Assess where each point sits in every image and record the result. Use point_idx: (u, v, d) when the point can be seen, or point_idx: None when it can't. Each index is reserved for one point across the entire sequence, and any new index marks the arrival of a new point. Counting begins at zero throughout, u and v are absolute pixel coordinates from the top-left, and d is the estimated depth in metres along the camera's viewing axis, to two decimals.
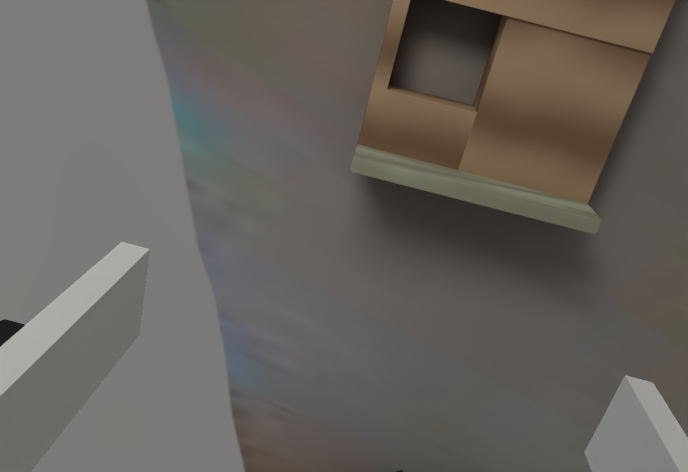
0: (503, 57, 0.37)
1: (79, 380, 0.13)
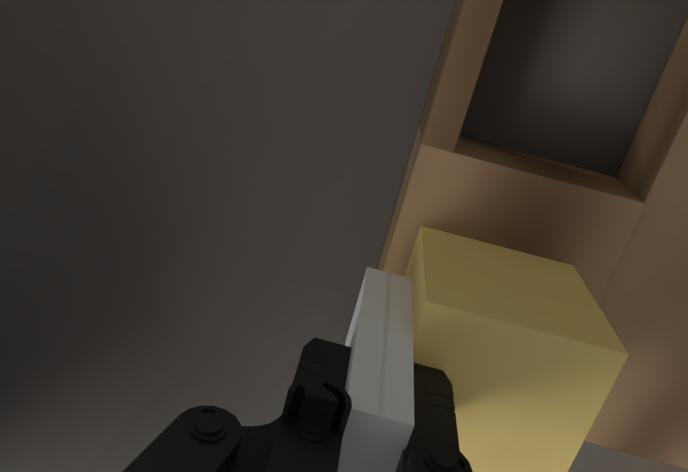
0: None
1: None
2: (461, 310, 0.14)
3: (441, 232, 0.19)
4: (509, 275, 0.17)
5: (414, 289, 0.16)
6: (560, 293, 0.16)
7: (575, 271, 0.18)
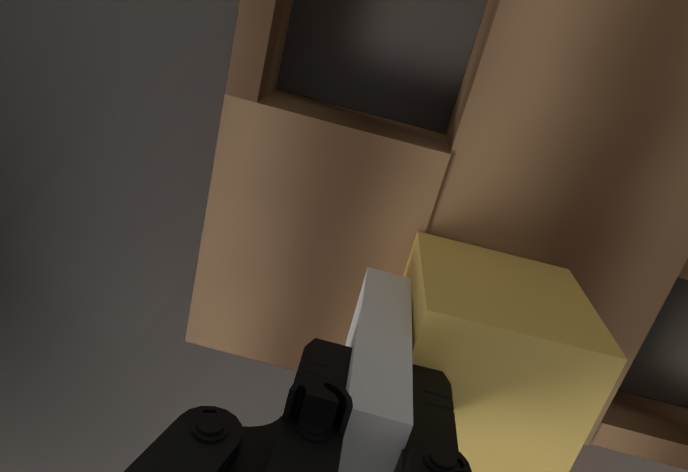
0: None
1: None
2: (462, 317, 0.14)
3: (438, 237, 0.19)
4: (507, 280, 0.17)
5: (413, 296, 0.16)
6: (558, 298, 0.16)
7: (571, 275, 0.18)
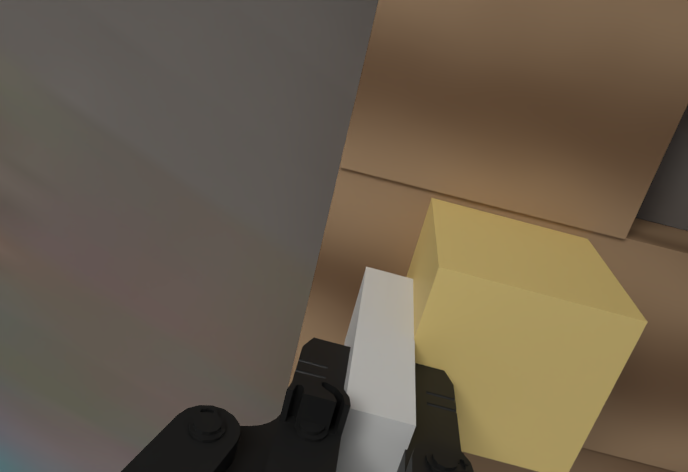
0: None
1: None
2: (630, 351, 0.14)
3: None
4: None
5: (585, 271, 0.16)
6: None
7: None
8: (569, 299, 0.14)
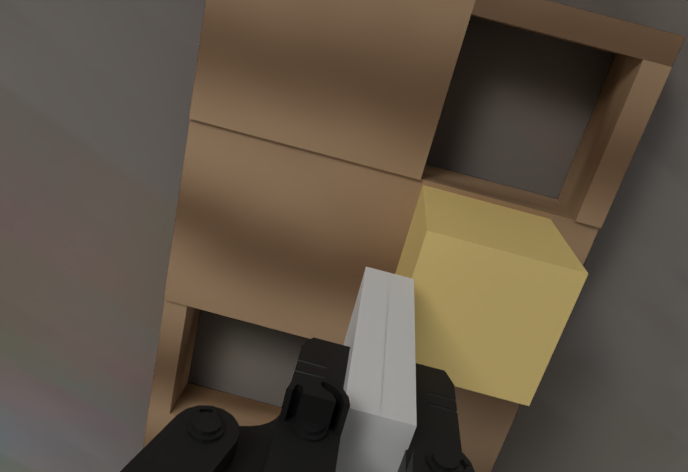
0: None
1: None
2: (576, 298, 0.18)
3: None
4: None
5: (544, 239, 0.20)
6: None
7: None
8: (528, 256, 0.18)
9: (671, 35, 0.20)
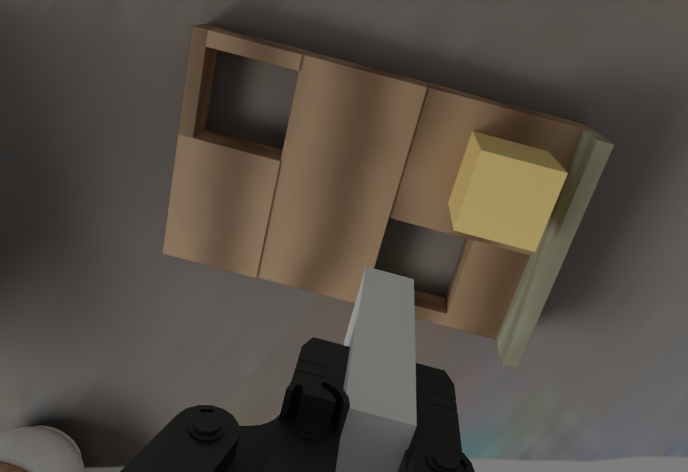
0: (424, 219, 0.40)
1: None
2: (496, 154, 0.33)
3: (482, 134, 0.37)
4: (516, 149, 0.35)
5: (472, 154, 0.35)
6: (540, 157, 0.35)
7: None
8: (470, 179, 0.34)
9: (192, 33, 0.37)
